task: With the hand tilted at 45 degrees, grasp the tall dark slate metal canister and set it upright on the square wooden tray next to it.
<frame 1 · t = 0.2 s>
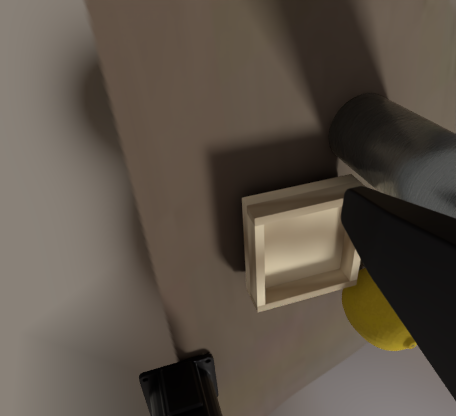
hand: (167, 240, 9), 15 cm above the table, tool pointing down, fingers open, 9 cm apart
lemon: (352, 272, 35), on the table
square wooden tray: (290, 226, 30), on the table
canister: (360, 128, 27), on the table
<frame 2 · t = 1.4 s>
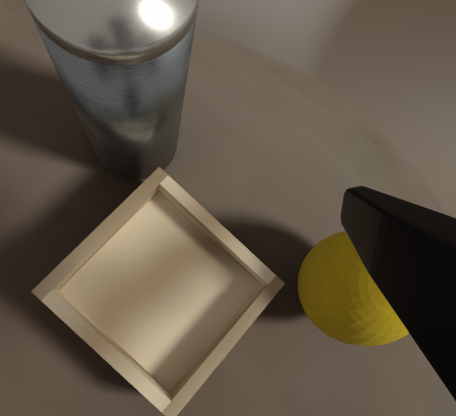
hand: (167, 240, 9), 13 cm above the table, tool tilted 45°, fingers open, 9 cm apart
lemon: (322, 286, 24), on the table
square wooden tray: (163, 286, 22), on the table
canister: (135, 139, 23), on the table
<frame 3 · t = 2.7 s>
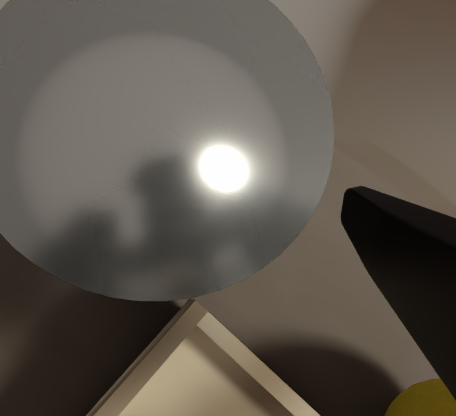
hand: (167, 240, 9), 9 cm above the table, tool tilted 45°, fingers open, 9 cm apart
canister: (157, 238, 18), on the table
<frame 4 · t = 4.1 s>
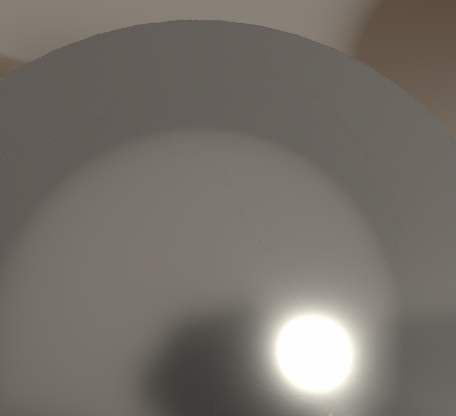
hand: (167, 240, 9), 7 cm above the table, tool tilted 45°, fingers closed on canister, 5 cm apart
canister: (170, 295, 15), on the table, touching gripper
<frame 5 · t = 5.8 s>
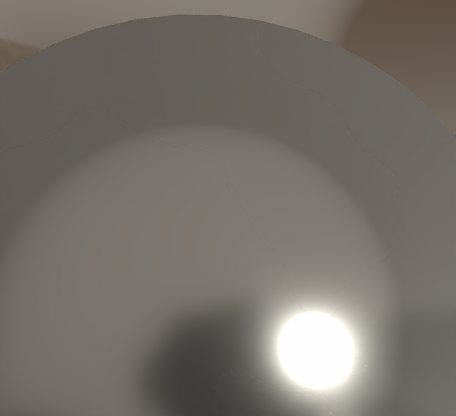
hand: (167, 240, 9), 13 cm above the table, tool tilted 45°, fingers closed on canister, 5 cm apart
canister: (169, 294, 15), point 7 cm above the table, touching gripper
when the fingers open (10 cm above the table, at t = 7.5 s): canister drops 1 cm, resting on square wooden tray.
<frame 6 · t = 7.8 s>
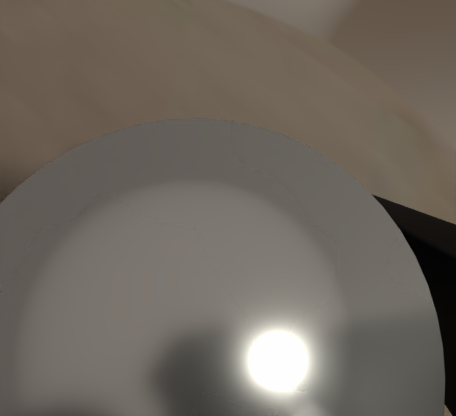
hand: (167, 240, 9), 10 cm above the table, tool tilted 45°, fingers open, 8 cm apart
canister: (169, 296, 16), point 2 cm above the table, touching square wooden tray
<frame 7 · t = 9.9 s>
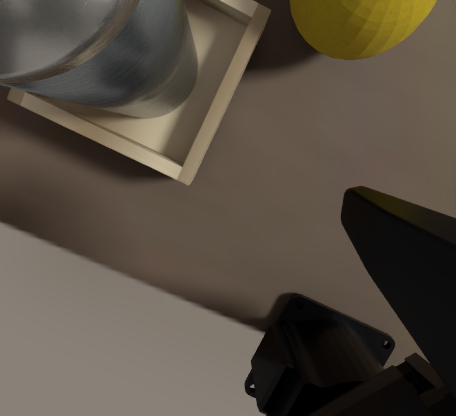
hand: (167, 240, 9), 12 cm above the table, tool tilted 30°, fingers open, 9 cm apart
lemon: (331, 16, 20), on the table
square wooden tray: (151, 69, 20), on the table
canister: (145, 63, 18), point 2 cm above the table, touching square wooden tray
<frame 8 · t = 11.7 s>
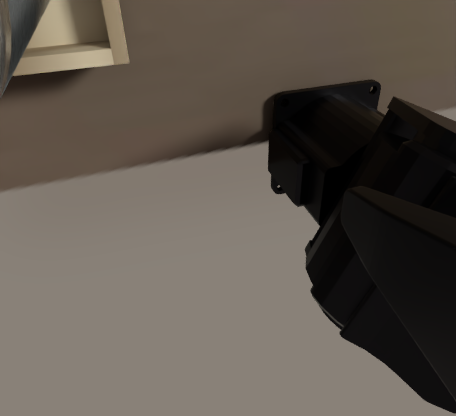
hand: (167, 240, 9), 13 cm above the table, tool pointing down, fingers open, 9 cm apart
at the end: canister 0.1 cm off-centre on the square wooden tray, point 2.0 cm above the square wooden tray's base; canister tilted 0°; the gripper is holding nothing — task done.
